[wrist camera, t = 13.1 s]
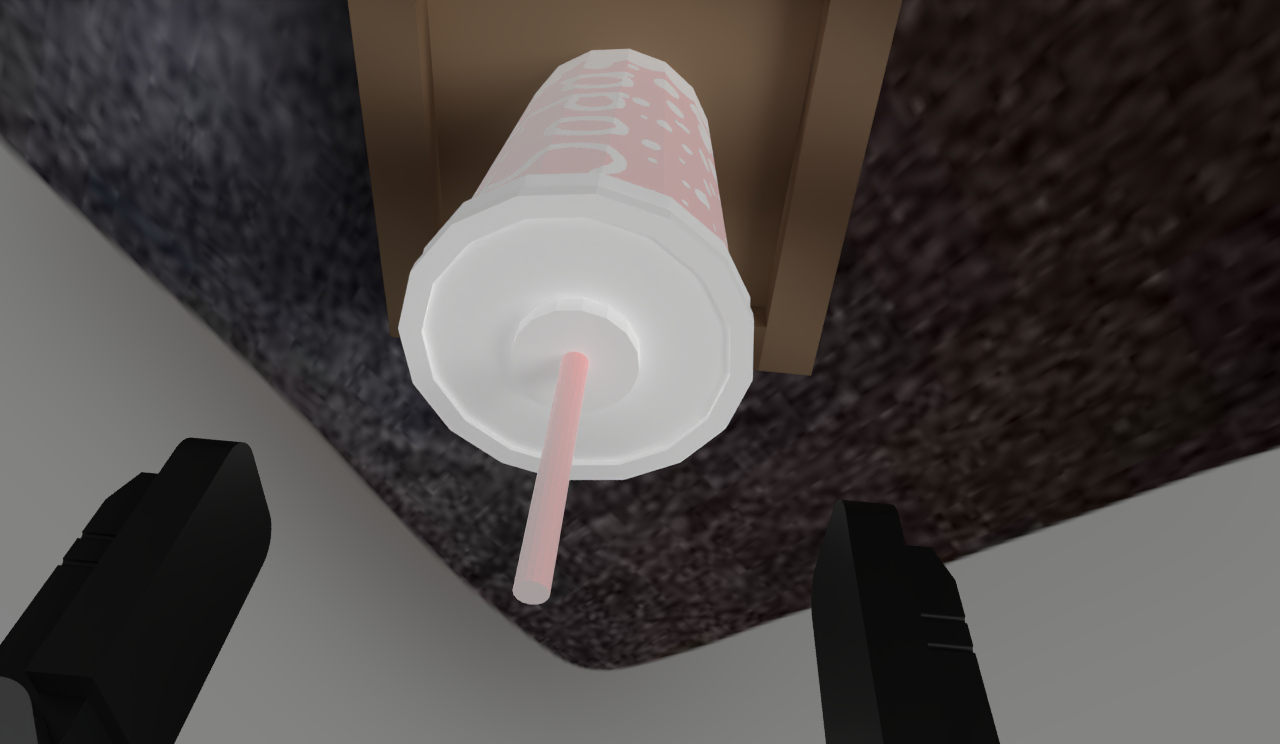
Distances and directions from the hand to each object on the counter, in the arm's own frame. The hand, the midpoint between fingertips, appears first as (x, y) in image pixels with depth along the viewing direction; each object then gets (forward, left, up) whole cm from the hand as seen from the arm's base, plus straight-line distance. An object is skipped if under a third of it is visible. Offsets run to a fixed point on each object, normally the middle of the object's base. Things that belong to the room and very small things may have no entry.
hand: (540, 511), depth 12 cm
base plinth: (0, 0, -15) cm, 15 cm away
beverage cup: (0, 0, -13) cm, 13 cm away
